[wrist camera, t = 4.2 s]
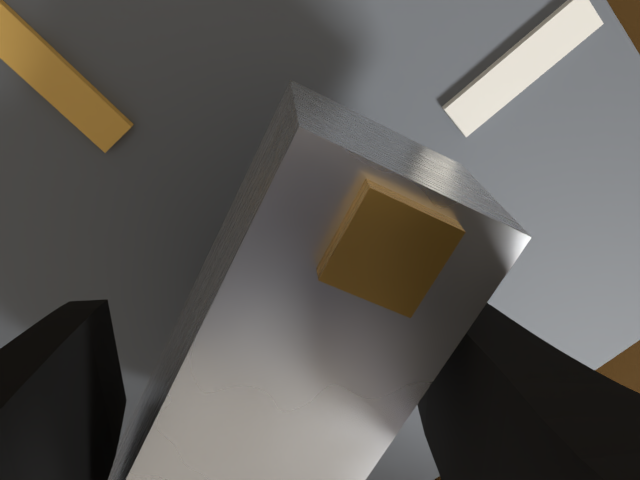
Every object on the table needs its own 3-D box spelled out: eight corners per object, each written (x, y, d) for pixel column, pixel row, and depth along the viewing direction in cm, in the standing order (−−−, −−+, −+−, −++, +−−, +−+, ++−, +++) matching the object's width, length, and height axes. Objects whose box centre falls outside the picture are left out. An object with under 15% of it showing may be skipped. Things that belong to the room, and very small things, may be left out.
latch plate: (235, 567, 18) (232, 624, 16) (-228, 261, 13) (-294, 301, 11) (716, 228, 14) (769, 259, 13) (333, -372, 9) (346, -437, 8)
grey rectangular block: (255, 443, 14) (248, 669, 9) (128, 402, 13) (57, 626, 9) (434, 135, 11) (542, 248, 7) (287, 61, 10) (300, 134, 6)
